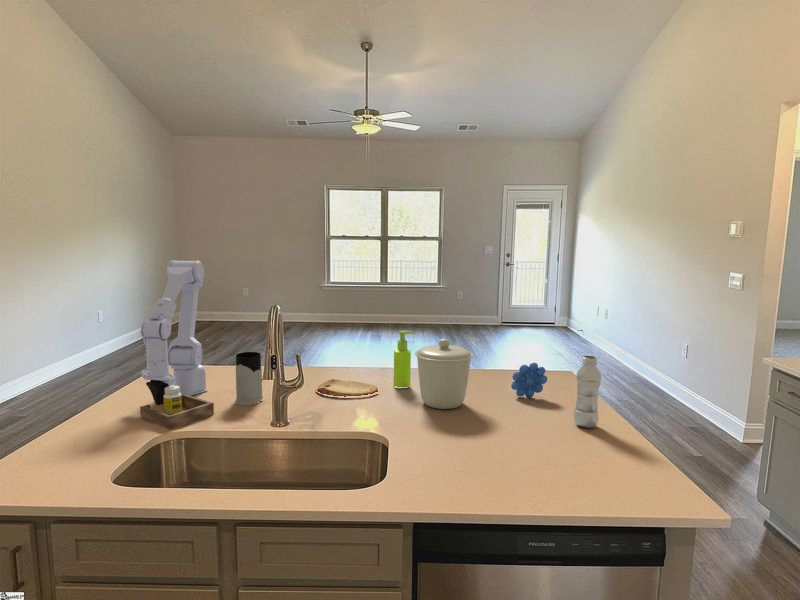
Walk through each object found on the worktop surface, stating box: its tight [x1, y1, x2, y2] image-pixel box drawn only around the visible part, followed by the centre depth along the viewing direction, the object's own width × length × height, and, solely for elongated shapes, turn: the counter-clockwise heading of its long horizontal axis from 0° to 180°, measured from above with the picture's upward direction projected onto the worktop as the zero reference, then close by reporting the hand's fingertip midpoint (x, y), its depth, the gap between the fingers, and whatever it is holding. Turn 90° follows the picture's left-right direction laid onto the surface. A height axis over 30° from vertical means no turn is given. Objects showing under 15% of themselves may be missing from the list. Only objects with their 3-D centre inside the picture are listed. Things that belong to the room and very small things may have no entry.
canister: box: [414, 338, 474, 410], centre depth 155 cm, size 18×18×21 cm
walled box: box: [139, 394, 215, 430], centre depth 142 cm, size 14×14×4 cm
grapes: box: [510, 362, 548, 399], centre depth 164 cm, size 12×7×12 cm, turn 85°
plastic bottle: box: [573, 355, 602, 429], centre depth 138 cm, size 6×7×20 cm
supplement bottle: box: [163, 385, 183, 415], centre depth 143 cm, size 5×5×8 cm
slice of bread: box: [316, 378, 379, 397], centre depth 167 cm, size 18×18×4 cm
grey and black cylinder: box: [235, 351, 265, 406], centre depth 159 cm, size 9×14×15 cm, turn 159°
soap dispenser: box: [393, 330, 415, 387], centre depth 173 cm, size 6×7×20 cm
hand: (159, 404), depth 147 cm, fingers closed
